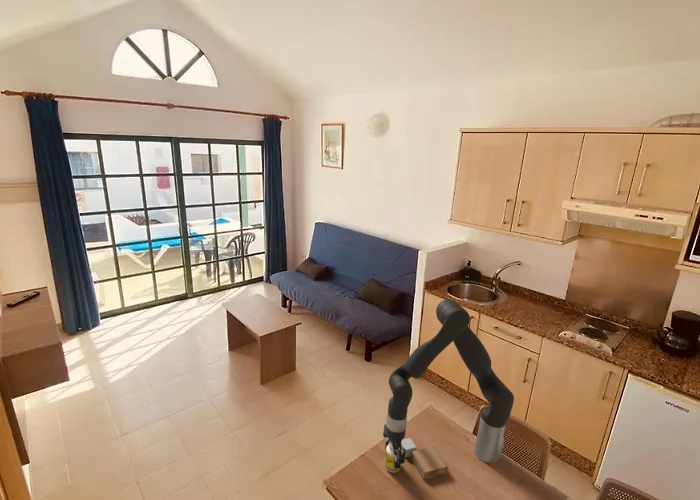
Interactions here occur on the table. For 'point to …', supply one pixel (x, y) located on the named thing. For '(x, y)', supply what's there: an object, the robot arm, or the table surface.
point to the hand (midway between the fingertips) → (392, 458)
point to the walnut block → (429, 462)
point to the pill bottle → (390, 459)
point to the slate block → (408, 446)
